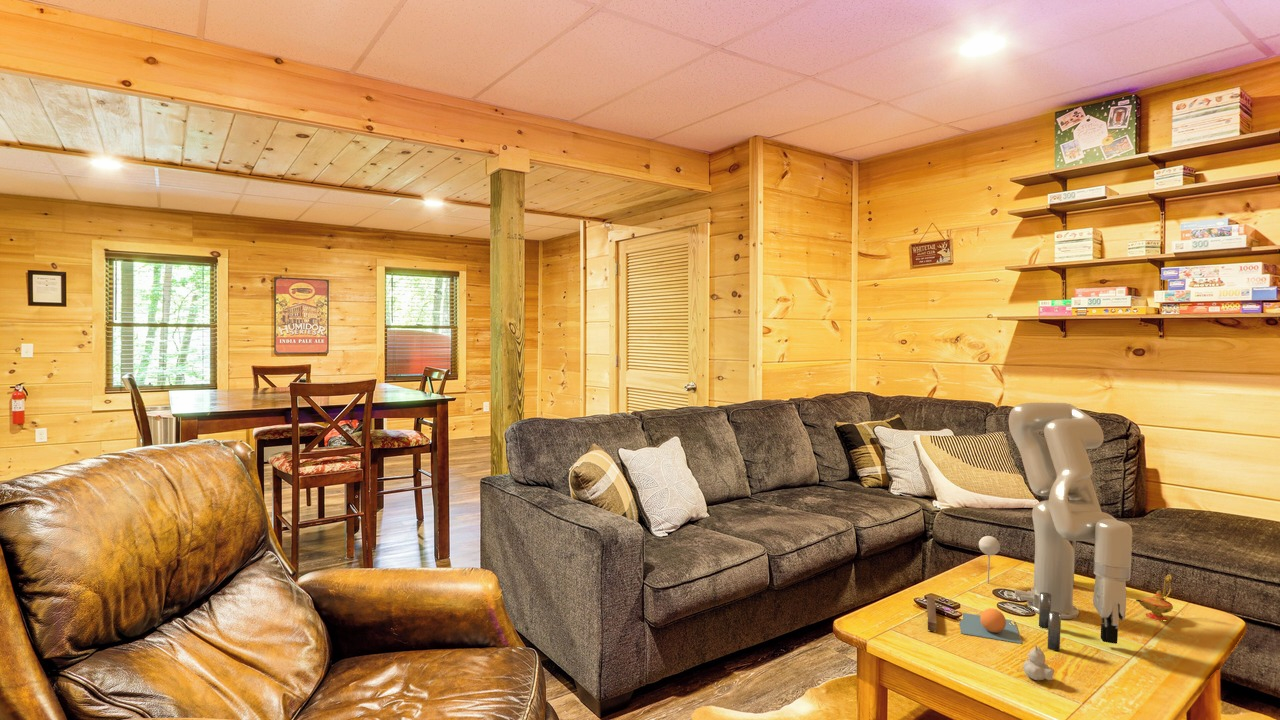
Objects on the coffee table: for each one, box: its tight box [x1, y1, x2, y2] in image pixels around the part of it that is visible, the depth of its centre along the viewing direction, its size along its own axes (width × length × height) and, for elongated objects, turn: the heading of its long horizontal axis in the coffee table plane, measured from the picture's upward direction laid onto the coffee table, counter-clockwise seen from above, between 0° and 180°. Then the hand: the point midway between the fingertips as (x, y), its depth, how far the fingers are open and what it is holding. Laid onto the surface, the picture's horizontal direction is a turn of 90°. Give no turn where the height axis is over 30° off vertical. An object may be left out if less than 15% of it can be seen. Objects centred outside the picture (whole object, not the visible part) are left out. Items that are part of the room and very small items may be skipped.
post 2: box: [1047, 611, 1062, 652], centre depth 165 cm, size 3×3×9 cm
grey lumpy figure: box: [1022, 643, 1055, 681], centre depth 151 cm, size 5×7×8 cm
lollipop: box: [978, 535, 1001, 584], centre depth 208 cm, size 6×6×15 cm
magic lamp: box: [1135, 574, 1174, 622], centre depth 183 cm, size 7×18×11 cm, turn 118°
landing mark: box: [958, 612, 1023, 645], centre depth 177 cm, size 14×14×1 cm
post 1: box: [1038, 592, 1051, 629], centre depth 177 cm, size 3×3×9 cm
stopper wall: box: [926, 596, 937, 632], centre depth 182 cm, size 2×18×2 cm, turn 157°
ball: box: [980, 607, 1007, 633], centre depth 174 cm, size 6×6×6 cm
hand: (1108, 641), depth 166 cm, fingers closed
